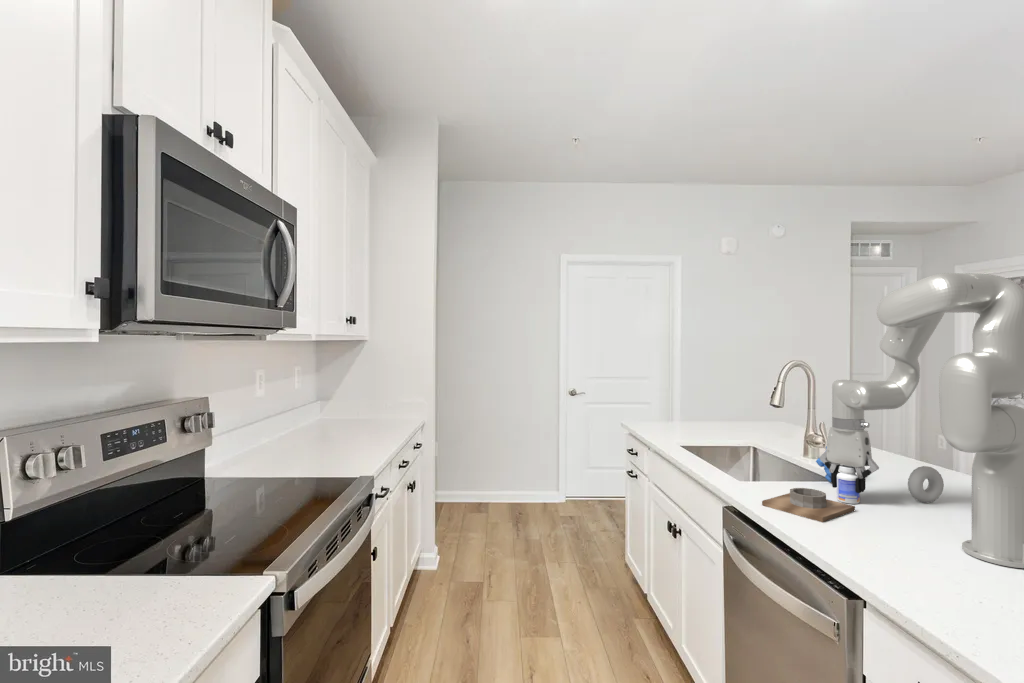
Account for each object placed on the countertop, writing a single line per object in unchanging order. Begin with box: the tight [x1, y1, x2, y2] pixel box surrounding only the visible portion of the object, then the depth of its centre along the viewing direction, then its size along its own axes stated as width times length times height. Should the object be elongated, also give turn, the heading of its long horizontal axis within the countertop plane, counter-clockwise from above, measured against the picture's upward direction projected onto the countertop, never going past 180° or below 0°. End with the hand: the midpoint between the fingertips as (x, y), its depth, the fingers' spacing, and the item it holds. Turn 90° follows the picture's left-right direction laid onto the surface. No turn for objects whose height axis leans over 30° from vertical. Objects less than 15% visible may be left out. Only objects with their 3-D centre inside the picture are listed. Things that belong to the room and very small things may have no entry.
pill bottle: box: [836, 465, 861, 505], centre depth 147 cm, size 5×5×10 cm
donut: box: [907, 465, 945, 503], centre depth 146 cm, size 10×4×10 cm, turn 99°
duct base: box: [761, 487, 856, 523], centre depth 142 cm, size 16×16×4 cm
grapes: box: [815, 445, 832, 484], centre depth 168 cm, size 12×7×12 cm, turn 147°
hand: (847, 488), depth 147 cm, fingers closed on pill bottle, 5 cm apart
